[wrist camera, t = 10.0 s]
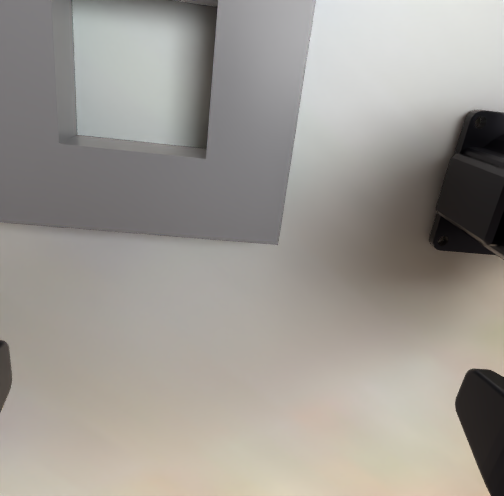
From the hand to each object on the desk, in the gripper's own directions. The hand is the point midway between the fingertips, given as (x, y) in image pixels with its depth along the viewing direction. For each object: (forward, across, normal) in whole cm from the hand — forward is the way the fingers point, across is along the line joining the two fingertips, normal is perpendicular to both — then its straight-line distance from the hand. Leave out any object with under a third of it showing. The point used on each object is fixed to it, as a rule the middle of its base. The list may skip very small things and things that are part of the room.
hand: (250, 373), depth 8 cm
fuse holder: (+12, +4, -5) cm, 14 cm away
